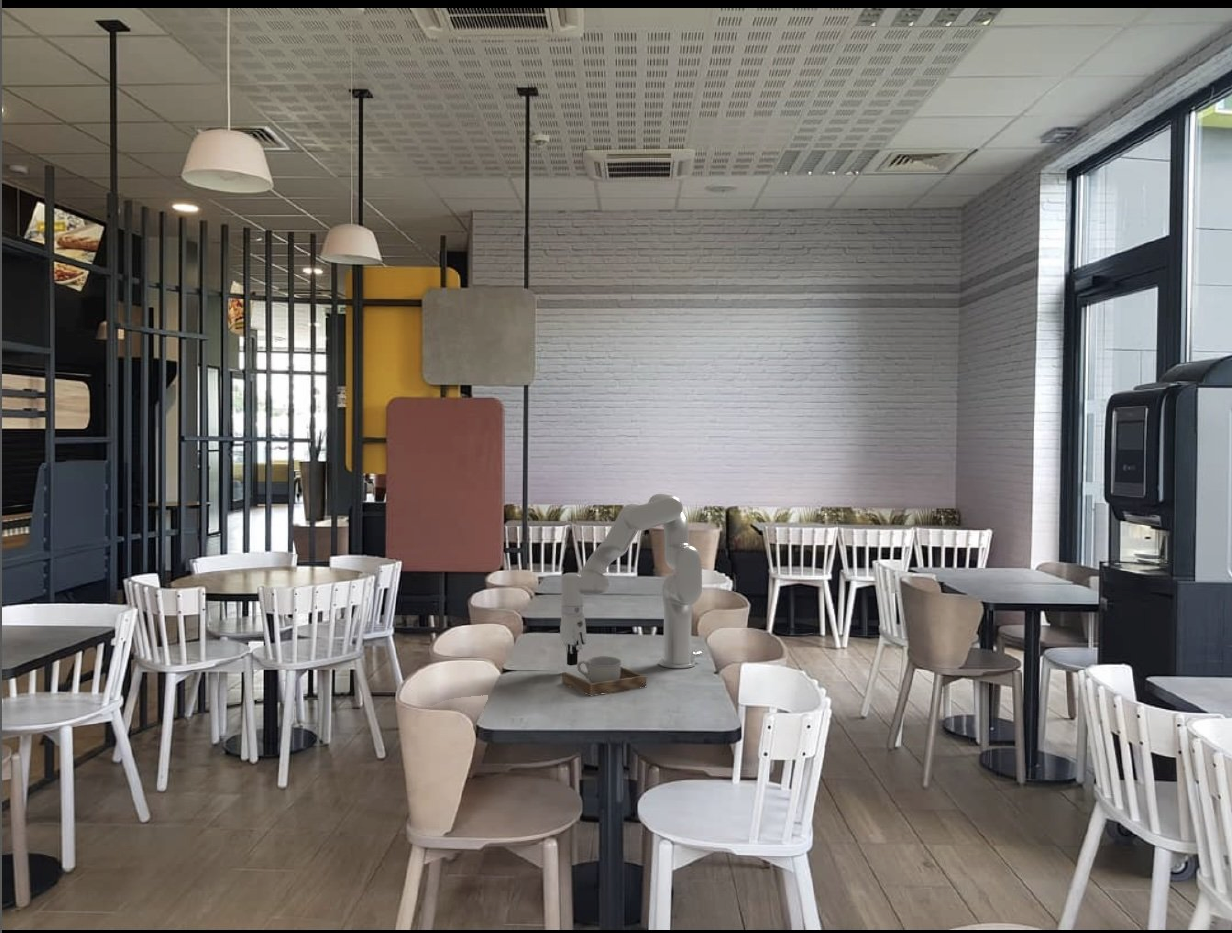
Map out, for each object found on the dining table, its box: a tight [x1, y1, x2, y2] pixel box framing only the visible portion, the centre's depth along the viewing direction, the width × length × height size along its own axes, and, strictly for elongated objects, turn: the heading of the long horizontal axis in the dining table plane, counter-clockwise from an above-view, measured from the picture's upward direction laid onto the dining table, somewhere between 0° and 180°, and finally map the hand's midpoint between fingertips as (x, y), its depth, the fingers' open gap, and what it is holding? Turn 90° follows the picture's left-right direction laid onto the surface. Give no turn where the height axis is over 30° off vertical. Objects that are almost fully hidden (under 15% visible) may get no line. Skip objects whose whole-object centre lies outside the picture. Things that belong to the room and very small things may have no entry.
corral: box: [561, 666, 647, 696], centre depth 309 cm, size 20×18×4 cm
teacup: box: [576, 655, 622, 683], centre depth 310 cm, size 14×11×8 cm
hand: (572, 664), depth 326 cm, fingers closed
